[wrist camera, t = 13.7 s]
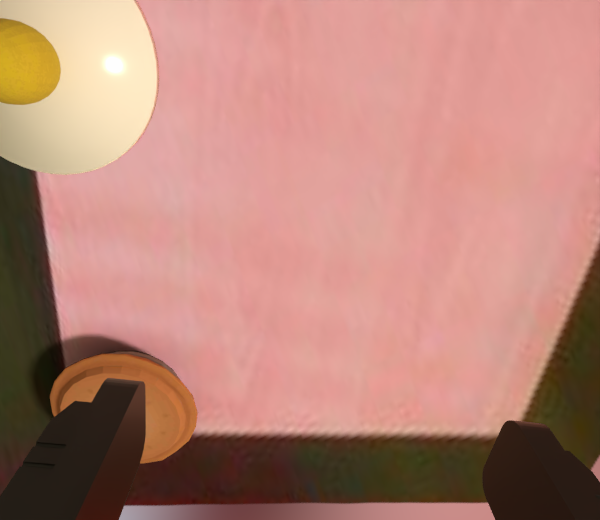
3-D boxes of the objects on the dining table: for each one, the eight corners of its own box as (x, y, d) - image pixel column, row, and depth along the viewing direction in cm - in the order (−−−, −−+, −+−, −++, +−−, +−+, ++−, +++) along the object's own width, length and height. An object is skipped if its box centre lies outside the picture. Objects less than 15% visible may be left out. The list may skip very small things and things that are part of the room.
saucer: (-100, -96, 31) (-114, -101, 30) (158, -55, 32) (153, -59, 31) (-47, 157, 39) (-57, 160, 38) (159, 182, 40) (155, 186, 39)
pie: (52, 414, 52) (29, 449, 48) (84, 313, 46) (61, 342, 42) (177, 453, 55) (166, 489, 51) (222, 363, 49) (214, 395, 45)
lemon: (-10, 36, 34) (-93, 32, 26) (54, 11, 33) (-13, -1, 26) (31, 108, 36) (-35, 123, 29) (91, 86, 35) (39, 95, 28)
